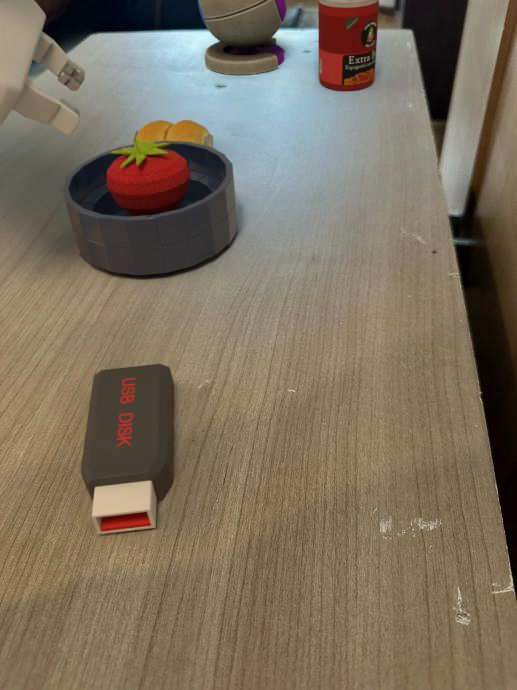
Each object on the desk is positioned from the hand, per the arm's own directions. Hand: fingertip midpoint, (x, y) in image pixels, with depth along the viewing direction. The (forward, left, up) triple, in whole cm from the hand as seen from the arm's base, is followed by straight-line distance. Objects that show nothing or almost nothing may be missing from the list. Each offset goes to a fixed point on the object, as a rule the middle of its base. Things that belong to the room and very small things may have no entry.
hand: (78, 102), depth 53 cm
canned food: (+38, +27, -13) cm, 49 cm away
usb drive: (-4, -27, -13) cm, 30 cm away
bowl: (+4, -1, -13) cm, 14 cm away
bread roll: (+10, +15, -13) cm, 22 cm away
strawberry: (+4, -1, -13) cm, 13 cm away
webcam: (+29, +43, -13) cm, 54 cm away
